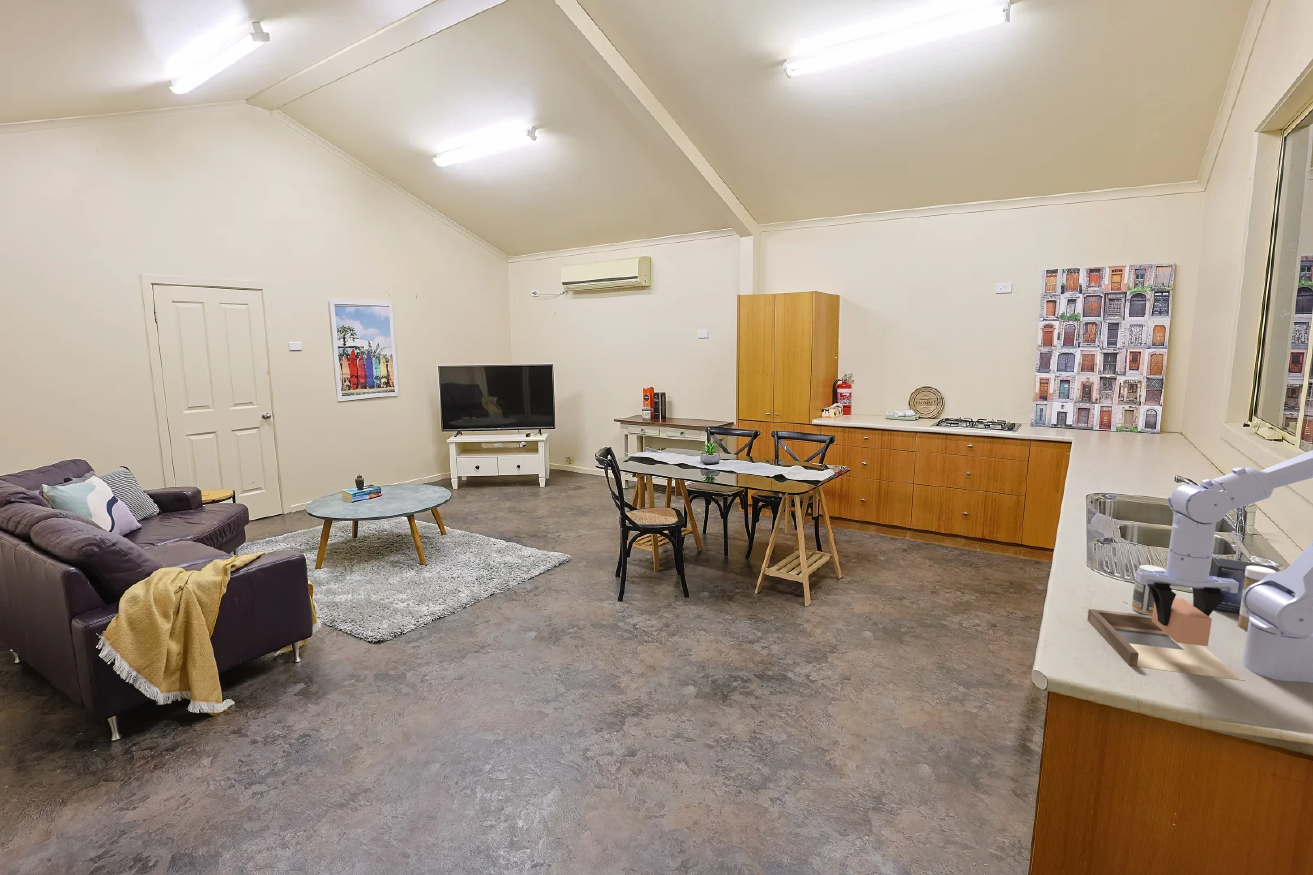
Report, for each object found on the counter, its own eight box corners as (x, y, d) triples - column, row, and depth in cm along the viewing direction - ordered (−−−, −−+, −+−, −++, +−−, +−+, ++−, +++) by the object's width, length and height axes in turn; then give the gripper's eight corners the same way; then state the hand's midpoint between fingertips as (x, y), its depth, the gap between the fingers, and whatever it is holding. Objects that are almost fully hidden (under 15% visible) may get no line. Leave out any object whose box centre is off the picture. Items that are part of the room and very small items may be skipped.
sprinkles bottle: (1271, 634, 125) (1282, 570, 123) (1260, 638, 123) (1270, 574, 121) (1242, 624, 129) (1252, 563, 127) (1231, 628, 127) (1241, 566, 125)
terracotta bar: (1151, 620, 117) (1154, 595, 116) (1179, 623, 115) (1183, 598, 115) (1176, 642, 108) (1180, 615, 107) (1207, 646, 107) (1211, 618, 106)
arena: (1184, 635, 124) (1186, 619, 123) (1244, 685, 106) (1247, 666, 105) (1086, 624, 128) (1088, 608, 128) (1128, 670, 110) (1130, 652, 110)
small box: (1210, 610, 136) (1217, 564, 135) (1203, 599, 142) (1210, 556, 140) (1276, 621, 131) (1284, 574, 129) (1265, 610, 137) (1273, 565, 135)
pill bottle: (1165, 611, 135) (1171, 568, 134) (1162, 619, 131) (1169, 575, 130) (1132, 603, 139) (1138, 561, 138) (1129, 611, 135) (1135, 568, 134)
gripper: (1225, 549, 111) (1214, 620, 113) (1131, 542, 115) (1122, 611, 117) (1250, 562, 105) (1238, 638, 107) (1150, 554, 108) (1140, 627, 111)
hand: (1179, 625), depth 111 cm, fingers closed on terracotta bar, 4 cm apart
